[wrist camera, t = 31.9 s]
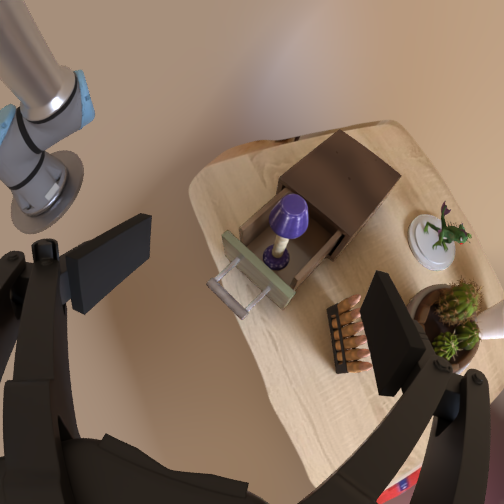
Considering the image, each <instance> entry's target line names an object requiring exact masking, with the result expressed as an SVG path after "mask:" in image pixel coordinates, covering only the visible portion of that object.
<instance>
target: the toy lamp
mask: <svg viewBox="0 0 504 504" xmlns="http://www.w3.org/2000/svg"><path fill="white" fill-rule="evenodd" d="M308 221H309V219H308V206H307V203H306V201H305V200H304V198H302V197H301V196H300V195H297V194H288V195H286V196H284V197H283V198H282V199H281V200H280V201H279V202H278V203H277V204H276V205H275V206H274V208H273V209H272V210H271V212H270V215H269V224H270V227H271V229H272V230H273V231H274V233H276V234H277V236H276V240H275V243H274V244H273V245H270V246H268V247H267V248H266V249H265V251H264V253H263V261H264V263H265V264H266V265H267V266H268V267H269V268H270V269H272V270H281V269H283V268H285V267H286V266H287V265H288V263H289V259H290V257H289V253H288V251H287V249H286V246H287V243H288V241H289V239H294V238H297V237H299V236H301V235H302V234H303V233H304V232H305V231H306V229H307V227H308Z"/></svg>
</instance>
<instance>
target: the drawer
mask: <svg viewBox="0 0 504 504" xmlns="http://www.w3.org/2000/svg"><path fill="white" fill-rule="evenodd" d="M288 194H294V193H293V192H292V191H291V190H289V189H288V188H287V187H285V188H284V189H283V190H282V191H281V192H279V193H278V194H277V195H276V196H275V197H274V198H272V199H271V200H270V201H269V202H268V203H267V204H266V205H264V206H263V207H262V208H261V209H260V210H259V211H258V212H256V213H255V214H254V215H253V216H252V217H251V218H250V219H248V220H247V221H246V222H245V223H244V224H243V225H242V226H240V227H239V232H240V241H239V240H238V239H237V238H236V237H235V236H234V235H233V234H232V233H231V232H230V231H228V230H227V231H226V232H225V233H223V234H222V240H223V245H224V250H225V256H226V257H227V258H228V259H229V260H230V261H231V263H230V264H229V265H228V266H227V267H226V268H225V269H224V270H223V271H221V272H220V273H219V274H218V275H217V276H216V277H215V278H211V279H210V280H209V281H208V282H207V284H206V285H207V286H208V287H209V288H210V289H211V290H212V291H213V292H214V293H215V294H216V295H217V296H218V297H219V298H220V299H221V300H222V301H223V302H224V303H225V304H226V305H227V306H228V307H229V308H230V309H231V310H232V311H233V312H234V313H235V314H236V315H237V316H238V317H239V318H240V319H241V320H243V319H244V318H245V317H246V316H247V315H248V314H249V311H250V310H251V309H252V308H253V307H254V306H255V305H256V304H257V303H258V302H259V301H260V300H261V299H262V298H263V297H264V296H265V295H267V296H268V297H269V298H270V299H271V300H272V301H273V302H274V303H276V304H277V305H278V306H279V307H280V308H281V309H282V310H284V309H285V307H286V306H287V305H288V304H289V302H290V301H291V299H292V298H293V296H294V295H295V293H296V292H295V291H294V290H295V289H296V288H297V287H298V286H299V285H300V284H301V283H302V282H303V281H304V280H305V279H306V278H307V277H308V276H309V274H310V273H311V272H312V271H313V270H314V269H315V268H316V267H317V266H318V265H319V264H320V263H321V261H322V260H323V259H324V258H325V257H326V256H327V255H328V254H329V253H330V252H331V250H332V249H333V248H334V247H335V246H336V245H337V244H338V243H339V241H340V240H341V239H342V237H343V236H344V234H342V233H341V232H340V231H339V230H338V229H337V228H335V227H334V226H333V225H332V224H331V223H330V222H328V221H327V220H326V219H325V218H324V217H322V216H321V215H320V214H319V213H318V212H316V211H315V210H314V209H313V208H312V207H310V206H309V205H308V204H307V206H308V219H309V221H308V227H307V229H306V231H305V232H304V233H303V234H302V235H301V236H299V237H297V238H294V239H289V241H288V243H287V246H286V249H287V251H288V253H289V257H290V259H289V263H288V265H287V266H286V267H285V268H283V269H281V270H272V269H270V268H269V267H268V266H267V265H266V264H265V263H264V261H263V253H264V251H265V249H266V248H267V247H268V246H270V245H273V244H274V243H275V240H276V236H277V234H276V233H274V231H273V230H272V229H271V227H270V224H269V215H270V212H271V210H272V209H273V208H274V206H275V205H276V204H277V203H278V202H279V201H280V200H281V199H282V198H283V197H284V196H286V195H288ZM234 266H236V267H237V268H238V269H239V270H241V271H242V272H243V273H244V274H245V275H246V276H247V277H248V278H249V279H250V280H251V281H252V282H253V283H254V284H255V285H256V286H257V287H258V288H260V289H261V290H262V292H261V293H260V294H259V295H258V296H257V297H256V298H255V299H254V300H253V301H252V302H251V303H250V304H249V305H248V306H247V307H246V308H244V307H242V306H241V305H240V304H239V303H238V302H237V301H236V300H235V299H234V298H233V297H232V296H231V295H230V294H229V293H228V292H227V291H226V290H225V289H224V288H223V287H222V286H221V285H220V284H219V283H218V281H219V280H220V279H221V278H223V277H224V276H225V275H226V274H227V273H228V272H229V271H230V270H231V269H232V268H233V267H234Z"/></svg>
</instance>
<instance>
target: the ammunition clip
mask: <svg viewBox="0 0 504 504" xmlns="http://www.w3.org/2000/svg"><path fill="white" fill-rule="evenodd" d="M360 298H361V295H359V294H356V295H353V296H351V297H349V298H346V299H344V300H343V301H341V302H340V303H339V304H338V303H337V304H335V305H333V306H331V307H329V308H327V314H328V320H329V326H330V333H331V339H332V346H333V353H334V360H335V367H336V373H337V374H340V373H349V372H352V373H358V372H361V371H367V370H370V369H371V368H372V367H373V366H372V364H371V363H368V362H362V361H357V360H359V359H361V358H365V357H367V356H368V355H370V351H369V350H368V349H358V348H356V347H358V346H359V345H362V344H364V343H366V342H367V338H366V336H365V335H361V336H354V335H355V334H356V333H358V332H359V331H361V330H363V329H364V326H363V323H362V322H358V323H351V322H353V321H355V319H357V318H358V317H360V316H361V315H360V308H357V309H354V310H350V309H351V308H353V306H354V305H355V304H357V303H358V302H359V300H360ZM349 310H350V311H349ZM343 313H344V314H343ZM347 324H348V325H347ZM345 325H346V326H345ZM343 326H344V327H343ZM349 336H350V337H349ZM346 337H348V338H346ZM351 348H352V349H351ZM347 349H349V350H347Z"/></svg>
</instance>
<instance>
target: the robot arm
mask: <svg viewBox="0 0 504 504" xmlns="http://www.w3.org/2000/svg"><path fill="white" fill-rule="evenodd" d="M0 80H1V81H2V82H3V83H4V84H5V85H6V86H7V87H8V88H9V89H10V90H11V91H12V92H13V93H14V95H15V96H16V97H17V98H18V99H19V100H20V101H21V102H20V107H18V108H17V109H16V107H15V106H14V105H12V104H9V105H7V106H5V107H4V108H2V109H1V110H0V180H1V181H2V182H3V183H4V184H5V185H6V186H7V187H8V188H9V189H10V190H11V192H12V194H13V196H14V198H15V201H16V203H17V205H18V207H19V208H20V210H21V211H22V212H23V213H24V214H25V215H27V216H31V217H33V216H38V215H40V214H42V213H44V212H46V211H47V210H48V209H49V208H51V207H52V206H53V205H54V204H55V202H56V201H57V200H58V199H59V197H60V196H61V194H62V193H63V191H64V189H65V187H66V184H67V180H68V170H67V167H66V166H65V165H64V163H63V162H62V161H61V160H60V159H58V158H56V157H54V156H53V155H51V154H49V153H47V152H46V151H45V150H46V149H47V148H49V147H51V146H52V145H54V144H55V143H57V142H59V141H60V140H62V139H64V138H65V137H67V136H69V135H70V134H72V133H74V132H76V131H77V130H80V129H82V128H83V126H85V125H87V124H88V123H90V122H91V121H92V120H93V119H94V117H95V111H94V108H93V104H92V101H91V98H90V94H89V91H88V87H87V83H86V80H85V77H84V73H83V71H82V70H78V71H74V72H73V71H72V70H71V69H70V68H69V67H66V66H59V65H58V63H57V61H56V60H55V58H54V56H53V54H52V52H51V51H50V49H49V47H48V45H47V43H46V42H45V40H44V38H43V36H42V34H41V32H40V31H39V29H38V27H37V25H36V23H35V22H34V19H33V17H32V15H31V13H30V11H29V10H28V7H27V6H26V3H25V1H24V0H0ZM151 219H152V216H151V215H147V214H142V213H140V214H138V215H136V216H134V217H133V218H131V219H129V220H127V221H125V222H123V223H121V224H119V225H117V226H116V227H114V228H112V229H110V230H109V231H106V232H105V233H103V234H101V235H99V236H97V237H96V238H94V239H92V240H90V241H86V242H84V243H82V244H80V245H78V247H75V248H73V250H70V251H68V252H66V253H65V254H63V255H61V256H60V257H59V250H58V243H57V241H56V240H54V239H41V240H38V241H36V242H34V243H33V244H32V254H33V260H34V263H29V262H26V261H25V256H24V253H23V252H20V251H10V252H9V253H7V254H5V255H4V256H3V257H2V258H1V259H0V382H1V379H2V376H3V373H4V370H5V367H6V365H7V362H8V360H9V357H10V355H11V352H12V350H13V347H14V345H15V343H16V340H17V344H16V352H15V362H14V373H13V380H8V381H7V382H5V386H4V398H3V441H4V456H3V457H0V504H269V503H268V502H266V501H265V500H263V499H262V498H261V497H259V496H257V495H255V494H253V493H251V492H249V491H247V488H248V484H249V483H247V482H242V481H237V480H233V479H229V478H224V477H220V476H217V475H213V474H203V473H190V472H181V471H173V470H170V469H167V468H166V467H164V466H163V465H161V464H160V463H158V462H156V461H155V460H154V459H152V458H151V457H149V456H148V455H146V454H145V453H143V452H142V451H141V450H139V449H138V448H136V447H134V446H131V445H129V444H127V443H125V442H122V441H120V440H118V439H116V438H114V437H112V436H110V435H108V434H105V435H104V437H103V439H102V440H97V439H89V438H88V439H87V438H81V437H80V435H79V432H78V428H77V424H76V418H75V412H74V405H73V398H72V391H71V382H70V371H69V359H68V341H67V306H66V302H67V301H68V300H70V299H71V302H72V308H73V310H76V311H78V312H80V313H82V314H84V315H85V314H86V313H87V312H88V311H89V310H90V309H92V308H93V307H94V306H95V305H96V304H97V303H98V302H99V301H100V300H101V299H103V298H104V297H105V296H106V295H107V294H108V293H109V292H110V291H111V290H113V289H114V288H115V287H116V286H117V285H118V284H120V283H121V282H122V281H123V280H124V279H125V278H126V277H127V276H129V275H130V274H131V273H132V272H133V271H135V270H136V269H137V268H138V267H139V266H140V265H142V264H143V263H144V262H145V261H146V260H148V259H149V256H150V235H151ZM360 315H361V319H362V323H363V326H364V330H365V334H366V338H367V343H368V347H369V351H370V355H371V360H372V364H373V369H374V373H375V378H376V383H377V388H378V393H379V395H381V396H392V397H394V396H395V395H396V393H397V392H398V391H399V389H400V388H401V389H402V393H403V395H402V396H401V397H400V399H399V400H398V401H397V402H396V404H395V405H394V406H393V407H392V409H391V410H390V412H389V413H388V414H387V415H386V417H385V418H384V419H383V420H382V421H381V423H380V424H379V425H378V426H377V427H376V429H375V430H374V431H373V432H372V433H371V434H370V435H369V437H368V438H367V439H366V440H365V441H364V442H363V443H362V444H361V445H360V446H359V448H358V449H357V450H356V451H355V452H354V453H353V454H352V455H351V456H350V457H349V458H348V459H347V460H346V461H345V462H344V463H343V464H342V465H341V466H340V467H339V468H338V469H337V470H336V471H335V472H334V473H333V474H331V475H330V476H329V477H328V478H327V479H326V480H325V481H324V482H323V483H322V484H320V485H319V486H318V487H317V488H316V489H315V490H314V491H312V492H311V493H310V494H309V495H308V496H306V497H305V498H304V499H303V500H302V501H300V502H299V503H298V504H378V503H377V502H376V500H377V499H378V497H379V496H380V495H381V493H382V492H383V491H384V490H385V488H386V487H387V486H388V484H389V483H390V482H391V480H392V479H393V478H394V476H395V475H396V474H397V472H398V471H399V469H400V468H401V466H402V465H403V464H404V462H405V461H406V459H407V458H408V456H409V455H410V453H411V451H412V450H413V448H414V447H415V445H416V443H417V442H418V440H419V439H420V437H421V435H422V433H423V432H424V430H425V428H426V426H427V425H428V423H429V421H430V419H431V417H432V415H433V416H434V417H433V423H432V428H431V432H430V437H429V441H428V445H427V449H426V453H425V457H424V461H423V464H422V468H421V471H420V475H419V478H418V481H417V484H416V487H415V490H414V493H413V496H412V498H411V501H410V504H484V501H485V495H486V488H487V479H488V471H489V458H490V398H489V385H488V381H487V379H486V377H485V375H484V374H482V372H481V371H478V370H476V369H469V370H468V371H467V372H466V374H465V375H464V376H461V375H458V374H456V373H453V368H452V365H451V364H450V363H449V361H447V360H446V359H445V358H443V357H441V356H438V355H436V354H435V351H434V349H433V347H432V345H431V343H430V341H429V340H428V337H427V335H426V333H425V331H424V329H423V327H422V326H421V325H420V324H419V323H418V322H417V321H416V320H413V319H412V318H411V316H410V314H409V312H408V310H407V308H406V306H405V304H404V302H403V300H402V298H401V296H400V294H399V293H398V291H397V289H396V287H395V285H394V283H393V281H392V280H391V278H390V276H389V274H388V273H385V272H381V271H377V270H376V272H375V275H374V277H373V280H372V282H371V285H370V287H369V290H368V292H367V294H366V297H365V299H364V302H363V304H362V306H361V308H360Z"/></svg>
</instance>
